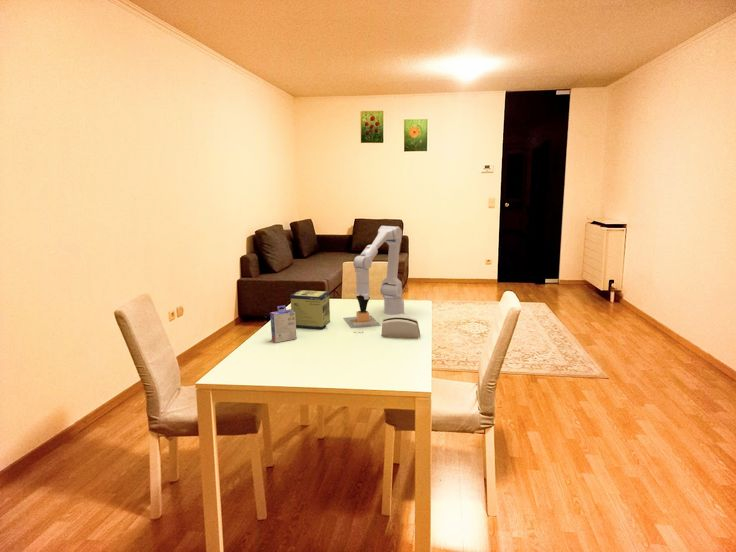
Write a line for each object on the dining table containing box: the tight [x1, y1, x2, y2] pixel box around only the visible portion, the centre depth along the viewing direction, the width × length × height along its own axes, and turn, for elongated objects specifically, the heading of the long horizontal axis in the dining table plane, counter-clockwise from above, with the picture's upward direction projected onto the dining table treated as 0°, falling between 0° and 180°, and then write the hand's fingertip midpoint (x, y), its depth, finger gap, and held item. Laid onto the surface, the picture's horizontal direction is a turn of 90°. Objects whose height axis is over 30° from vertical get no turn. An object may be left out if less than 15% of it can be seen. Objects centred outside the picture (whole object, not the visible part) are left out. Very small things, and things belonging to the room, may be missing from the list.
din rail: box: [350, 316, 378, 327], centre depth 236 cm, size 11×7×2 cm, turn 104°
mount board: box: [342, 315, 382, 329], centre depth 240 cm, size 14×18×1 cm
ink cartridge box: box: [269, 304, 298, 343], centre depth 218 cm, size 10×6×14 cm, turn 121°
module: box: [355, 310, 370, 322], centre depth 235 cm, size 5×4×5 cm
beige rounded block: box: [381, 315, 421, 339], centre depth 220 cm, size 17×5×10 cm, turn 78°
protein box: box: [290, 289, 331, 331], centre depth 237 cm, size 10×16×16 cm
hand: (363, 311), depth 235 cm, fingers closed
